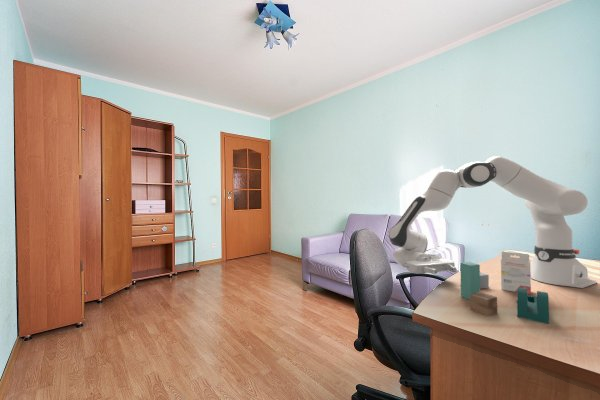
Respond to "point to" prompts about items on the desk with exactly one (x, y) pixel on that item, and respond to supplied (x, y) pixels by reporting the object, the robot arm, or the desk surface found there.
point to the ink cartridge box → (515, 272)
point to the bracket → (533, 306)
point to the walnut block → (483, 303)
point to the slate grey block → (484, 280)
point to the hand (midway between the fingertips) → (445, 271)
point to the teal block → (470, 279)
